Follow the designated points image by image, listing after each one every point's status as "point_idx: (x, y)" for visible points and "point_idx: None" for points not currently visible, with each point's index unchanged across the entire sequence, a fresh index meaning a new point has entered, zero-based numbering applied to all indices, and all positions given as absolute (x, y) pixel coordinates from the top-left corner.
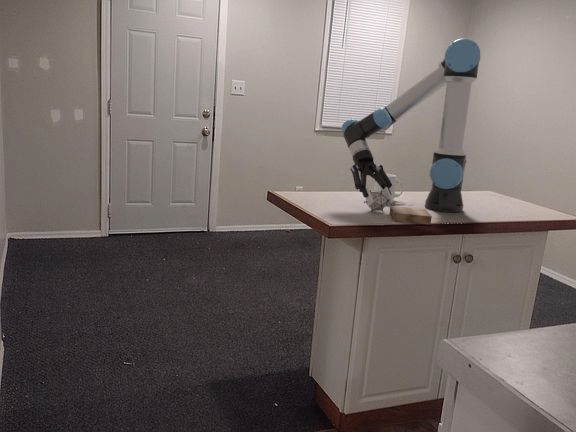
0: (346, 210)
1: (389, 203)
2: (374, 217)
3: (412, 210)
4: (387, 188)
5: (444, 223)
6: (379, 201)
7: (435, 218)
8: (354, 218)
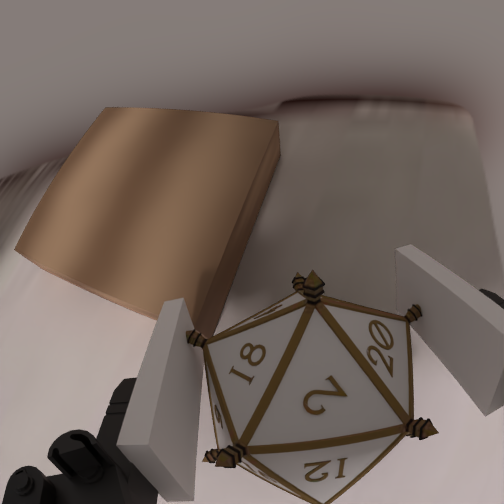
0: None
1: None
2: (372, 225)
3: (107, 198)
4: (128, 425)
5: (50, 166)
6: (322, 297)
7: None
8: (480, 198)
